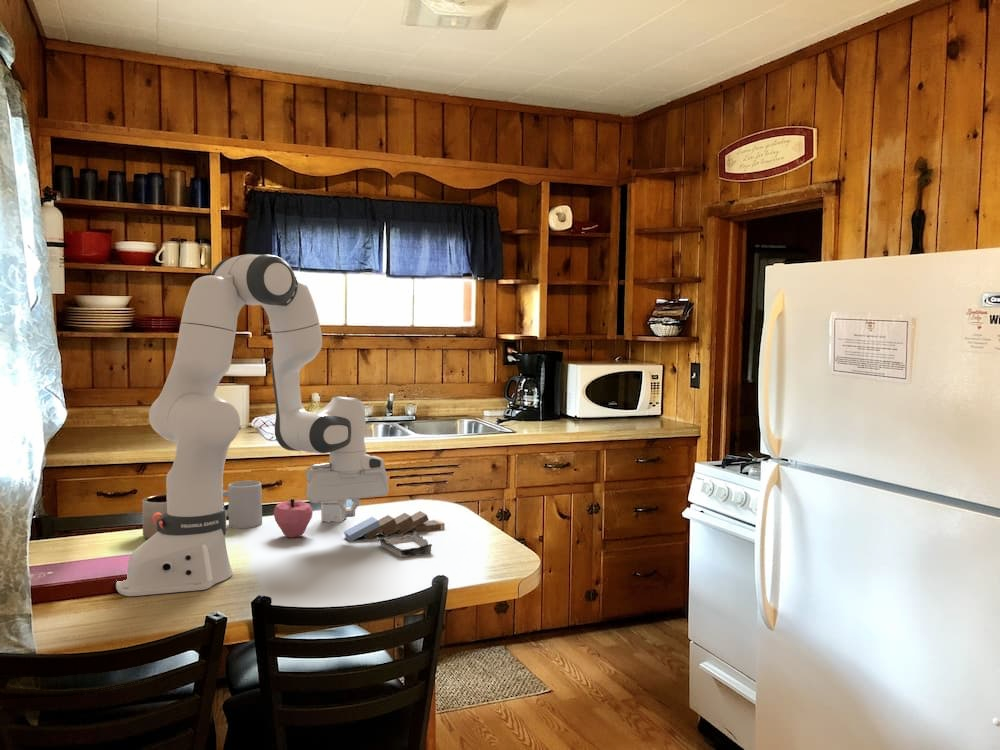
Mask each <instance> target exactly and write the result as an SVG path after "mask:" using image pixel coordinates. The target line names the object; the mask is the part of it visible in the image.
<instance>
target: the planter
mask: <svg viewBox="0 0 1000 750" xmlns="http://www.w3.org/2000/svg"><path fill="white" fill-rule="evenodd" d="M166 512H167V493H163V494H162V493H161V494H155V495H149V496H147V497H144V498H142V536H143V537H144V538H145V539H147V540H148V539H149V538H150V537H152V536H153V535H154V534H155V533H156V532H158V531H157V523H155V522H154V521H153V518H152V517H153V515H154V514H155V513H161V514H162V515H163V514H164V513H166Z"/></svg>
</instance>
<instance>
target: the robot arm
mask: <svg viewBox="0 0 1000 750" xmlns="http://www.w3.org/2000/svg"><path fill="white" fill-rule="evenodd" d="M245 305H247V306H261V307H262V308H263V309H264V311H265V312H266V315H267V317H268V321H269V322H268V324H269V328H270V333H271V338H272V346H273V353H272V356H271V362H270V363H271V376H272V377H271V378H272V385H273V387H272V388H273V393H274V401H275V422H274V435H275V436H274V437H275V439H276V441H277V443H278V444H279V446H281V447H282V448H283V449H285V450H287V451H293V452H294V451H295V452H305V453H313V454H314V453H315V454H320V455H321V454H328V453H329V462H327V463H325V462H324V463H320V464H319V463H317V464H315V463H314V464H312V465H311V466H309V467H308V468H307V469H306V472H305V476H306V477H305V479H306V481H307V483H306V485H307V487H306V499H307V501H309V503H312V504H318V503H319V504H321V502H330V501H337V504H338V505H339V507H340V508H341V510H342V517H343V518H345V519H347V518H353V517H354V518H355V516H356V510H357V507H358V506H359V504H360V499H366V498H375V497H385V496H387V495H388V493H389V488H390V486H389V476H388V473H387V470H386V469H385V468H384V467H385V466H386V461H385V460H384V459H383V458H381V457H379V456H377V455H373V454H369V453H367V452H366V451H367V448H366V444H365V436H366V428H367V427H366V423H367V422H366V412H365V407H364V404H363V402H362V400H360V399H358V398H355V397H346V396H333V397H331V400H330V402H329V403H327V404H326V405H325V406H324V407H323V408H321V409H319V410H317V411H316V412H314V411H308V410H306V409H305V407H304V406H303V403H302V393H301V384H300V372H301V370H302V368H303V367H305V366H306V365H307V364H309V363H310V362H312V361H313V360H314V359H316V358H317V356H318V355H319V353H320V352H321V350H322V347H323V334H322V333H323V332H322V328H321V324H320V319H319V314H318V311H317V307H316V305H315V302H314V299H313V297H312V294H311V292H310V289H309V287H308V285H307V284H306V283H305V282H304V281H303V280H301V279H298V278H297V277H296V276H295V273H294V270H293V269H292V267H291V265H290V264H289V263H288V262H287V261H286V260H285V259H284V258H282V257H279V256H277V255H274V254H268V253H267V254H254V253H247V254H241V255H237V256H234V255H233V256H229V257H227V258H224V259H221V260H220V261H219V262H218V263H217V264H216V265H215V266H214V268H213V269H212V271H211V274H210V275H204V276H201V277H197V278H196V279H195V280H194V281H193V282H192V284H191V287H190V289H189V291H188V294H187V297H186V300H185V303H184V307H183V310H182V315H181V320H180V325H179V331H178V337H177V341H176V342H177V343H176V348H175V353H174V357H173V361H172V365H171V368H170V371H169V372H168V375H167V378H166V380H165V381H164V382H165V383H164V385H163V388H162V390H161V392H160V393H159V396H158V397H157V398H156V399H154V401H153V402H152V404H151V406H150V408H149V412H148V421H149V424H150V427H151V428H152V430H153V431H155V433H156V434H158V435H159V436H160V437H161V438H163V439H164V440H166V441H168V442H172V443H176V450H175V455H174V459H173V463H172V465H171V468H170V470H169V471H168V472H167V475H166V478H165V480H166V482H165V483H166V485H165V486H166V489H165V490H166V494H167V512H166V513H164V514H163V515H162V514H161V513H155V514H154V515H153V517H152V518H153V521H154V522H155V523H157V531H158V532H156V533H155V534H154V535H153V536H152V537H150V538H149V539H147V540H146V541H144V542H143V543H142V544H141V545H139V546H138V547H136V548H135V549H134V550H133V552H132V553H131V555H130V558H129V559H128V565H127V571H126V573H127V579H126V580H123V581H117V580H116V581H117V582H116V581H115V589H116V591H117V592H118V593H119V594H120V595H123V596H126V597H138V596H148V595H159V594H169V593H171V594H173V593H182V592H193V591H203V590H209V588H211V587H212V586H214V585H216V584H218V583H221V582H223V581H225V580H228V579H229V578H230V577H231V576H232V575H233V573H234V572H233V570H232V566H231V564H230V563H231V562H230V559H229V556H228V549H227V544H226V531H227V517H226V513H225V511H226V509H225V508H224V497H223V491H224V482H223V481H224V472H225V471H224V470H225V469H224V468H225V463H226V459H227V455H228V451H229V447H230V446H231V444H232V442H233V441H234V440H235V438H236V437H237V435H238V434H239V430H240V427H241V418H240V414H239V412H238V410H237V409H236V407H235V406H234V405H233V404H231V403H230V402H228V401H227V400H225V399H224V398H221V397H220V396H217V395H215V393H216V391H217V388H218V386H219V384H220V383H221V380H222V379H223V377H224V376H225V375H226V374H227V372H229V369H230V367H231V365H232V357H233V351H234V344H235V338H236V332H237V326H238V317H239V314H240V312H241V310H242V308H243V307H244V306H245ZM345 500H346V501H347V500H351V502H352V504H351V506H350V508H346V509H345V507H344V506H343V504H345Z"/></svg>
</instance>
